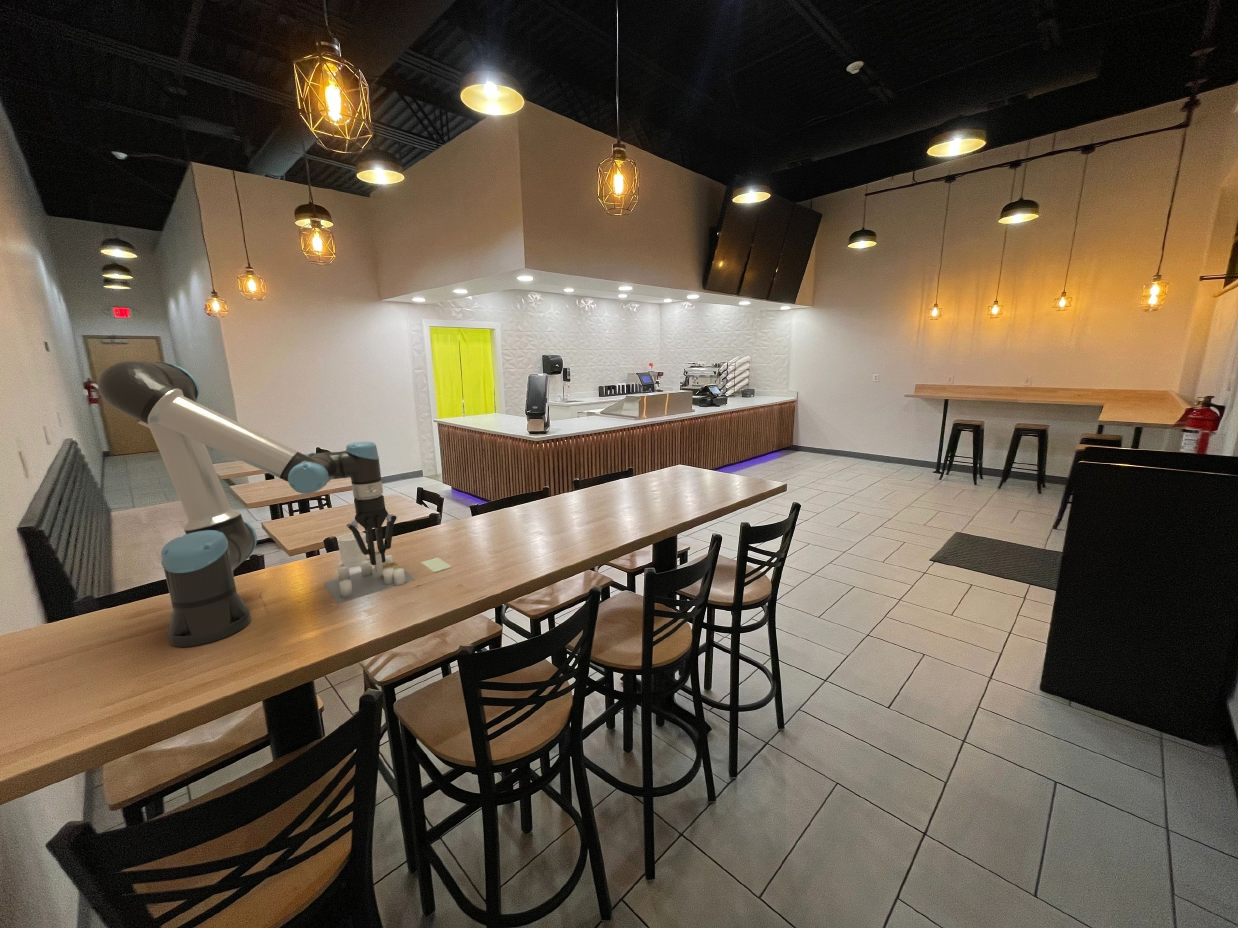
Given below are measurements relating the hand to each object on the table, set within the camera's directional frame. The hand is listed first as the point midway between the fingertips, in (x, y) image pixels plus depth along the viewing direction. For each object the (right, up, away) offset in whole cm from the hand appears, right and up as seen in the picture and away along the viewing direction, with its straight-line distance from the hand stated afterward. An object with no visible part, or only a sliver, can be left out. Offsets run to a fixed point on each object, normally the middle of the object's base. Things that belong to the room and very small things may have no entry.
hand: (379, 573), depth 138 cm
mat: (+10, -1, +9) cm, 14 cm away
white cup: (-14, -1, +13) cm, 20 cm away
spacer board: (-2, -3, -1) cm, 4 cm away
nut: (+2, -1, +2) cm, 3 cm away
